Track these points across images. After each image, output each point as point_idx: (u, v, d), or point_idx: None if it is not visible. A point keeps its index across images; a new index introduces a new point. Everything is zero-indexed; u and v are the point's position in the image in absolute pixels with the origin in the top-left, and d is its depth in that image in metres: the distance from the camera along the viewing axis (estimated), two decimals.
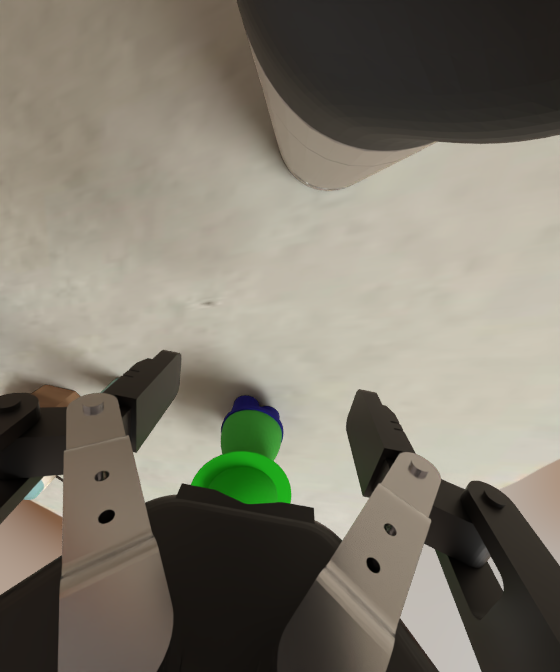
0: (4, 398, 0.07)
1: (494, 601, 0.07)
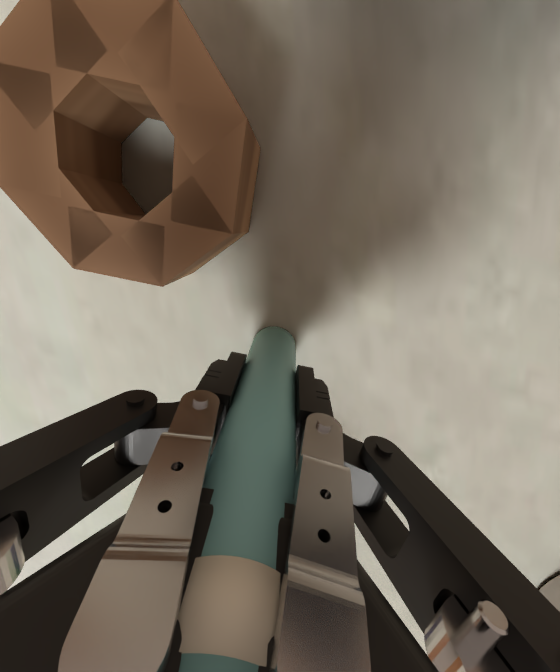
0: (135, 394, 0.08)
1: (396, 532, 0.08)
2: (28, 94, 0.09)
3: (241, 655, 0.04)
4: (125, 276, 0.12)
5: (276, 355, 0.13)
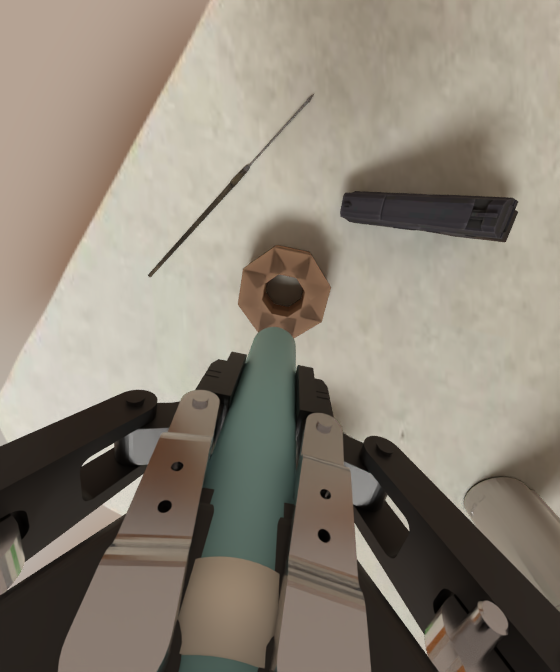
0: (135, 394, 0.08)
1: (396, 532, 0.08)
2: (257, 279, 0.28)
3: (240, 657, 0.04)
4: None
5: (276, 355, 0.13)
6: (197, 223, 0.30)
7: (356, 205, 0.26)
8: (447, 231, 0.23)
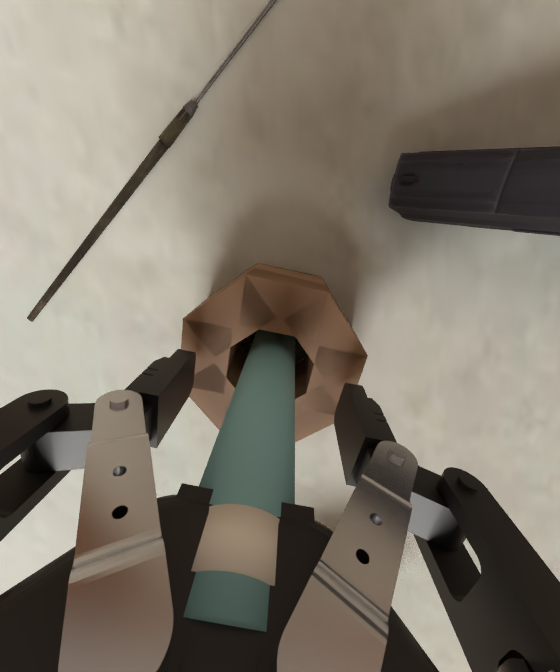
0: (37, 394, 0.08)
1: (471, 581, 0.07)
2: (214, 338, 0.13)
3: (248, 572, 0.05)
4: None
5: (277, 347, 0.14)
6: (103, 223, 0.15)
7: (431, 180, 0.11)
8: None
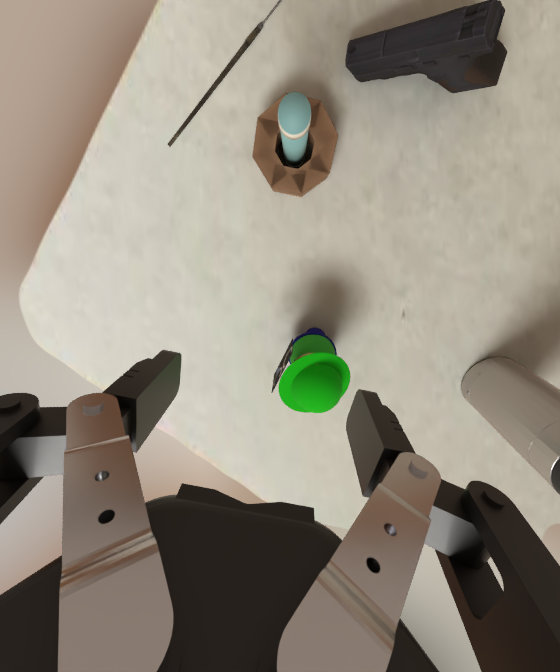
0: (4, 398, 0.07)
1: (494, 601, 0.07)
2: (270, 128, 0.31)
3: None
4: (289, 189, 0.33)
5: None
6: (214, 86, 0.33)
7: (360, 48, 0.28)
8: (442, 52, 0.25)
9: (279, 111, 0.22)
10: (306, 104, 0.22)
